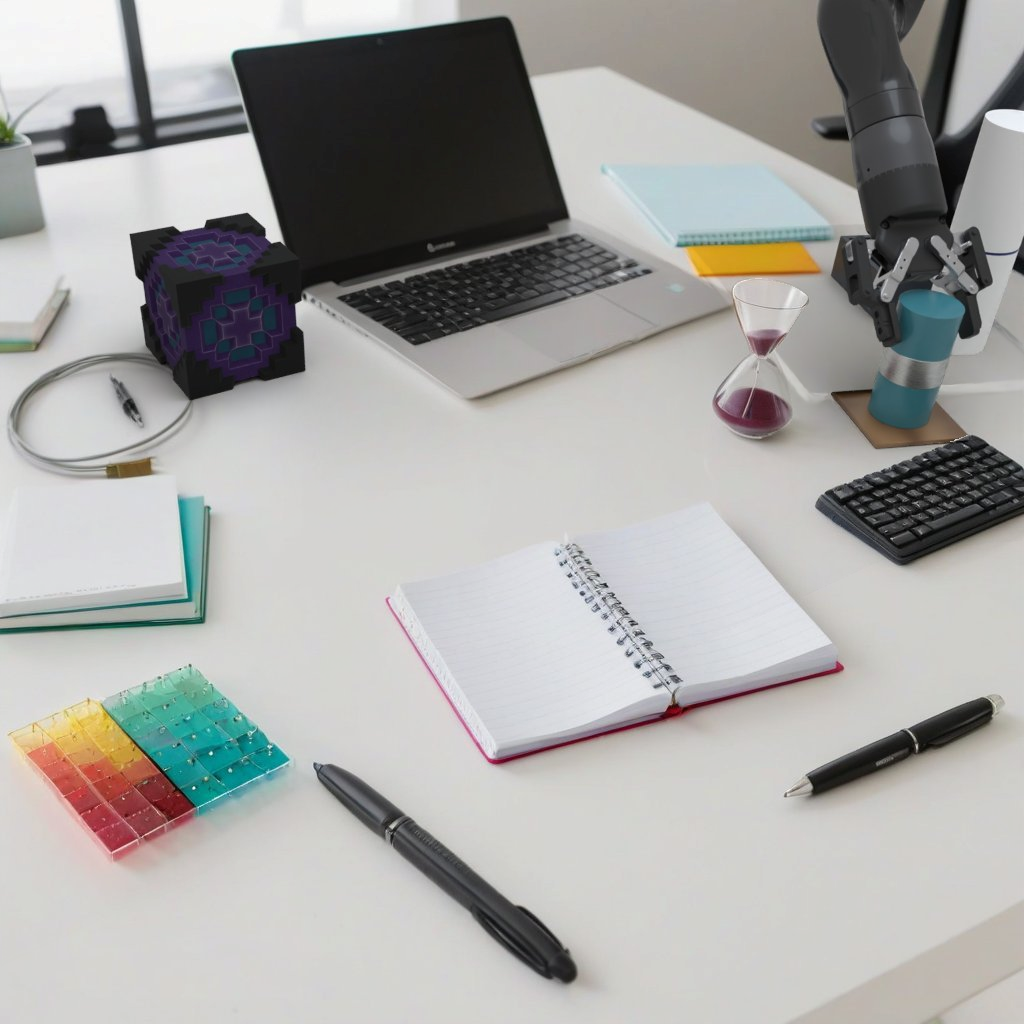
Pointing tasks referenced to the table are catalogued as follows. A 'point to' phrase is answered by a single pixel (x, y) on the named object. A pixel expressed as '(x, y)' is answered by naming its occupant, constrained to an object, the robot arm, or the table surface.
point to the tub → (875, 266)
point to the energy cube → (219, 303)
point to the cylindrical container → (993, 211)
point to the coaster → (889, 436)
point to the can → (916, 359)
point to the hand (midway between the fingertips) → (932, 341)
